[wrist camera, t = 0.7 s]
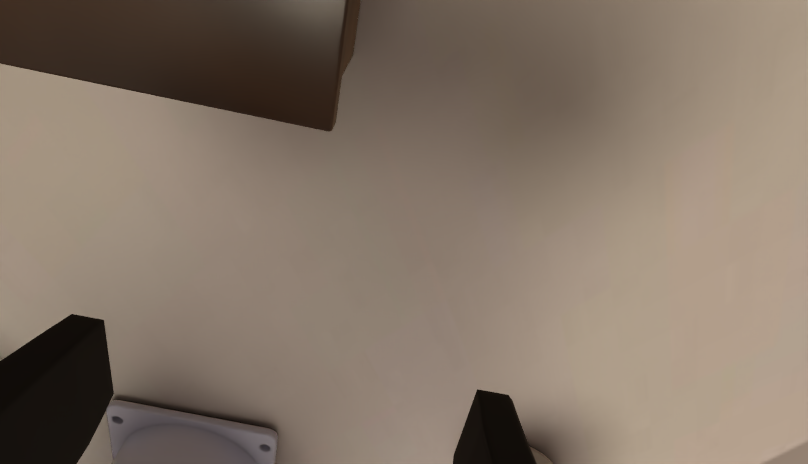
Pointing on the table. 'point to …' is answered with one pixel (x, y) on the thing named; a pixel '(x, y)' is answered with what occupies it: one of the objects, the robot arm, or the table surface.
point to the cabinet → (194, 50)
